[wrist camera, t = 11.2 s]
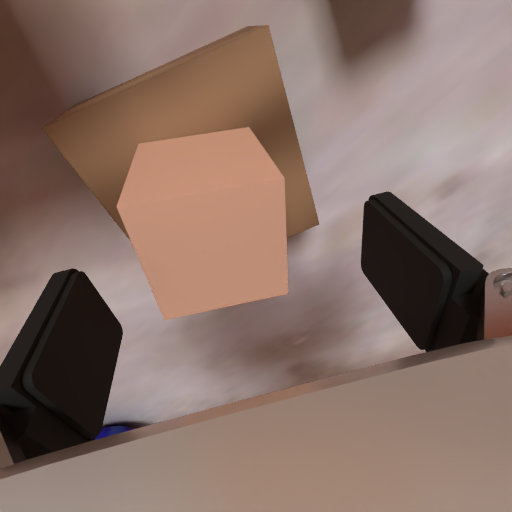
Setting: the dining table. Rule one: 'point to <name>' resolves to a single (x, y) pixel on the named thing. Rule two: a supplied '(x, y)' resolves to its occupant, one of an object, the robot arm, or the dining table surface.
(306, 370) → the dining table surface
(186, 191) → the terracotta block
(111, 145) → the walnut base block
